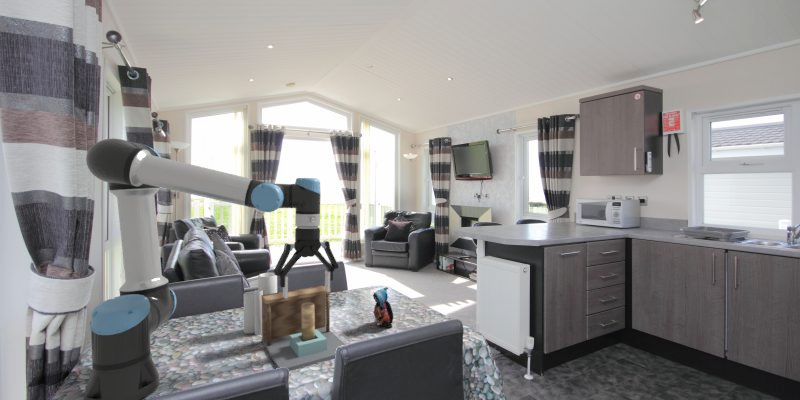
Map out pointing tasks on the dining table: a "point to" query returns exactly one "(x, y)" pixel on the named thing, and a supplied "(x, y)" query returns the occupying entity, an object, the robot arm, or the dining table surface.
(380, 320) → the figurine
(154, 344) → the dining table surface
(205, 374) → the dining table surface
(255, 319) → the vase
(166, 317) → the robot arm
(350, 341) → the dining table surface
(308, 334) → the oak peg
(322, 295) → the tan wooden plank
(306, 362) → the socket board
